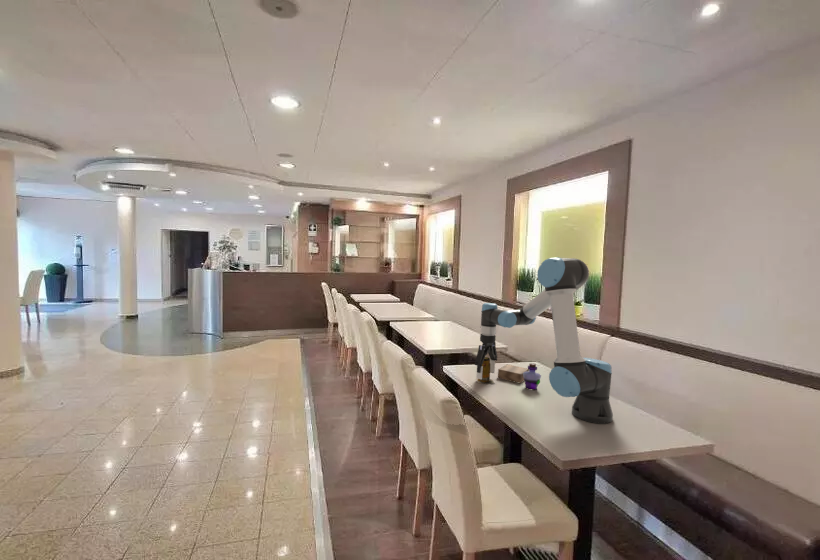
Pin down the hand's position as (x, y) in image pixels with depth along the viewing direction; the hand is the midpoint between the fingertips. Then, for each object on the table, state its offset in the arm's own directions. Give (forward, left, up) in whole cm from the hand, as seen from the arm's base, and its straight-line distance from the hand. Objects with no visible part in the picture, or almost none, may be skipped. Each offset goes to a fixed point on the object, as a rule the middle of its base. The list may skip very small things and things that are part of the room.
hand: (485, 375), depth 198 cm
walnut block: (-8, -16, -3) cm, 18 cm away
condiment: (0, 0, -3) cm, 3 cm away
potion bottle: (-21, -7, -3) cm, 22 cm away
